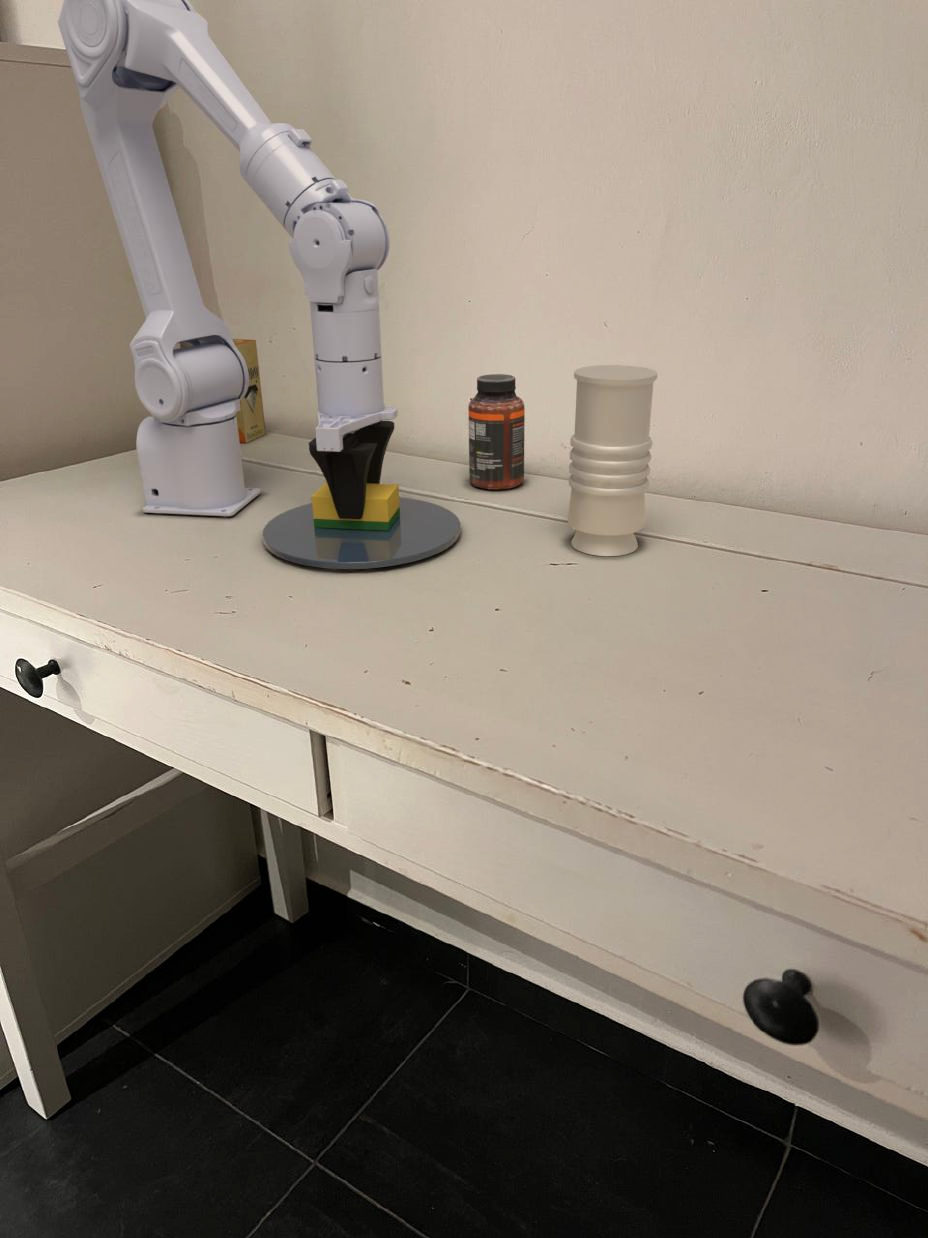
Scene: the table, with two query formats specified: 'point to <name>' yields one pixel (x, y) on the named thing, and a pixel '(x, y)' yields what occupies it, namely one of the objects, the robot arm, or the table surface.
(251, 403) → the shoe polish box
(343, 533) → the plate
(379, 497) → the sponge
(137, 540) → the table surface
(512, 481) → the supplement bottle
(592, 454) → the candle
